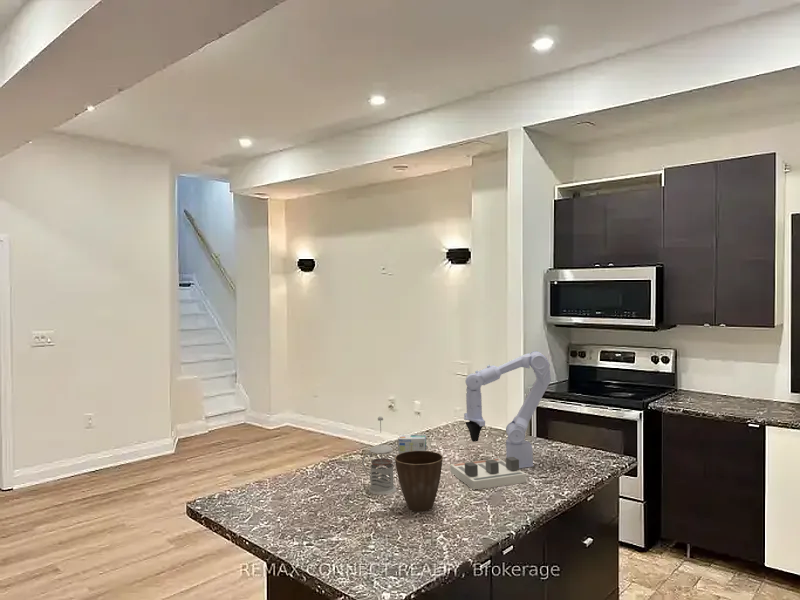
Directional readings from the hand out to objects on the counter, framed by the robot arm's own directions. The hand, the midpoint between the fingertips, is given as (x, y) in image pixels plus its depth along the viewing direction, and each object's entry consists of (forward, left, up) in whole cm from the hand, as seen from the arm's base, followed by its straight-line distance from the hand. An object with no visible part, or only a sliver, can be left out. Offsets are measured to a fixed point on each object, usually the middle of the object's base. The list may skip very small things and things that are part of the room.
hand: (474, 441), depth 226 cm
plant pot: (+34, +32, -10) cm, 48 cm away
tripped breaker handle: (+2, +18, -6) cm, 19 cm away
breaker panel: (+2, +14, -9) cm, 17 cm away
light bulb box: (+21, -12, -10) cm, 26 cm away
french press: (+41, +11, -10) cm, 44 cm away
